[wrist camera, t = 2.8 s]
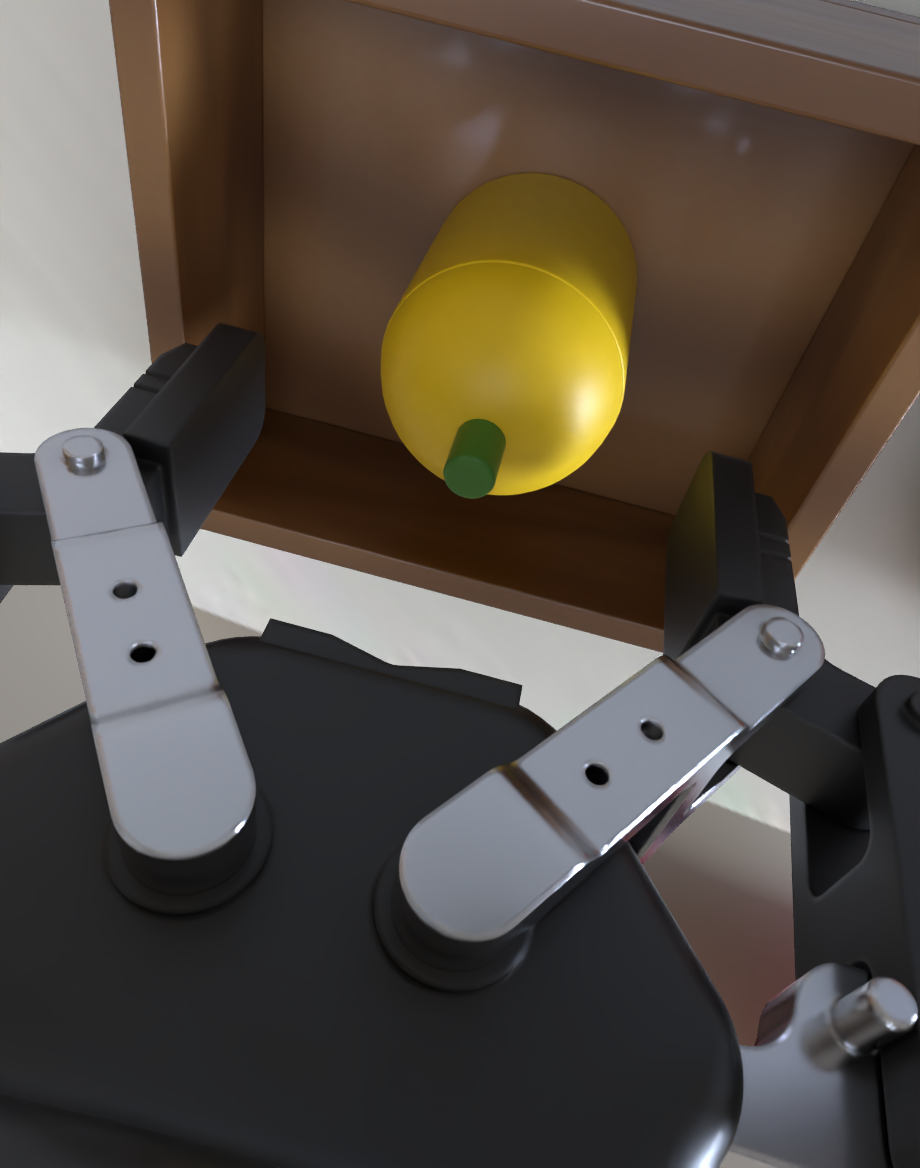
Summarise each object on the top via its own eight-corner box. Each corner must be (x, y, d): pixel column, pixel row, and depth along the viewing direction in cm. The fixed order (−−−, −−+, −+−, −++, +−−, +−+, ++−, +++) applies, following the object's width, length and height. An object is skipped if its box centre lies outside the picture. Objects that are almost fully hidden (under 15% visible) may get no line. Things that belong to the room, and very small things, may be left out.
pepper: (448, 146, 17) (339, 312, 12) (667, 202, 17) (655, 395, 12) (419, 346, 21) (324, 544, 16) (602, 394, 21) (569, 610, 15)
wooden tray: (236, -154, 15) (91, -130, 12) (1003, 37, 15) (1103, 124, 11) (249, 408, 24) (169, 521, 21) (728, 534, 24) (734, 672, 20)
